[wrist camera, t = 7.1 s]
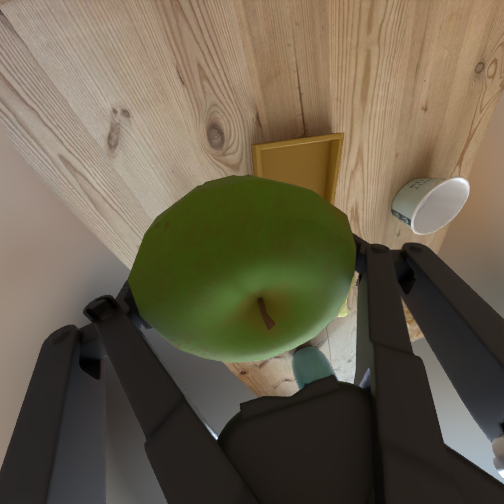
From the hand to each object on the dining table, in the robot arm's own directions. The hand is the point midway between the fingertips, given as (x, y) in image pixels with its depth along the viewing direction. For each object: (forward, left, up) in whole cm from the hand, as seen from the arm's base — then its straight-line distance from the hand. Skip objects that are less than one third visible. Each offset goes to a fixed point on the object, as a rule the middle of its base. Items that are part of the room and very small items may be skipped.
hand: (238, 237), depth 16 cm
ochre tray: (+13, -1, -19) cm, 23 cm away
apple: (0, 0, -2) cm, 2 cm away
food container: (+42, -9, -19) cm, 47 cm away
